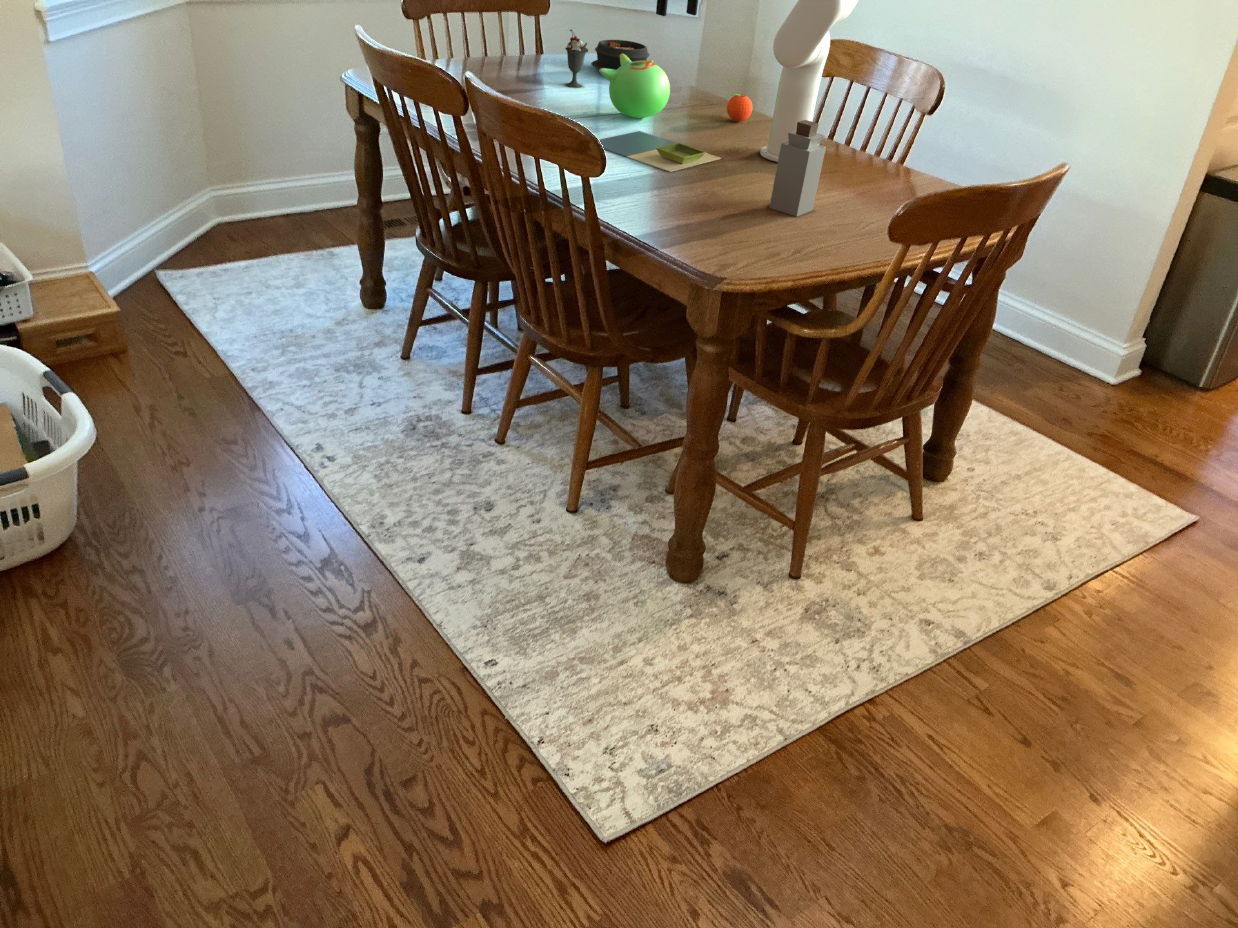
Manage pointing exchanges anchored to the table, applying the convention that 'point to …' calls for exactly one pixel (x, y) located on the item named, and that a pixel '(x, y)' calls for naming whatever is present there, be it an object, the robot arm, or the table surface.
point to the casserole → (618, 53)
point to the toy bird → (637, 87)
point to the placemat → (648, 150)
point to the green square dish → (680, 153)
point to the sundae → (575, 58)
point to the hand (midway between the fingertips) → (676, 15)
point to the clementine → (739, 107)
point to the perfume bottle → (798, 170)
